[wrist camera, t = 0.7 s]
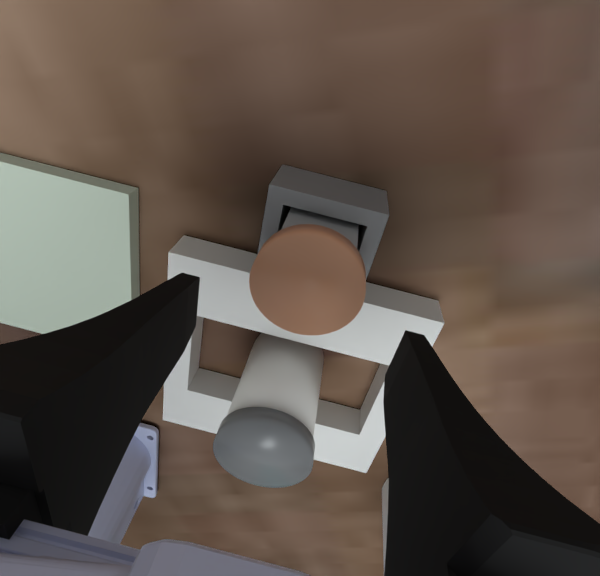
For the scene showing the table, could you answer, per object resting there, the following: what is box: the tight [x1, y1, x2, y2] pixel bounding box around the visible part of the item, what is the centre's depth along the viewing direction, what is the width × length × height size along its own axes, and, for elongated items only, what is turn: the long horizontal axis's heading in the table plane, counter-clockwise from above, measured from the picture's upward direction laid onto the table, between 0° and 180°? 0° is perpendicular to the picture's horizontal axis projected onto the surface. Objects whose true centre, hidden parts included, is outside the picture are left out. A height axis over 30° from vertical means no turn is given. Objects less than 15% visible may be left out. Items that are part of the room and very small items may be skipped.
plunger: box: [249, 207, 366, 335], centre depth 17 cm, size 4×4×4 cm
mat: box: [0, 153, 140, 334], centre depth 23 cm, size 11×11×1 cm
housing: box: [163, 164, 444, 473], centre depth 23 cm, size 18×14×3 cm
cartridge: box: [213, 333, 324, 488], centre depth 22 cm, size 5×5×7 cm
